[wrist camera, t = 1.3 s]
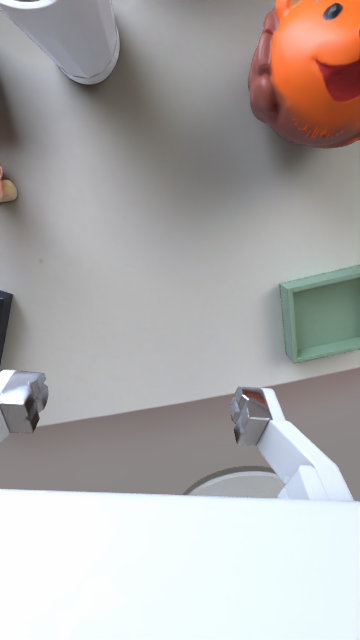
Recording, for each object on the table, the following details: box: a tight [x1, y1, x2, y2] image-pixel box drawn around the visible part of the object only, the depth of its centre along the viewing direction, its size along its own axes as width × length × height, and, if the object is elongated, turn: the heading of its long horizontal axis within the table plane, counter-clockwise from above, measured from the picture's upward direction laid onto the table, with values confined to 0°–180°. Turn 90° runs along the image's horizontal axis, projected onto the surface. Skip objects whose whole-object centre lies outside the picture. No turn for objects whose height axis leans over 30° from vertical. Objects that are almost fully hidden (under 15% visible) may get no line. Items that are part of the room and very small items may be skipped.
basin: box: [279, 265, 360, 364], centre depth 34 cm, size 11×10×2 cm
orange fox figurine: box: [248, 0, 360, 148], centre depth 21 cm, size 12×10×11 cm
